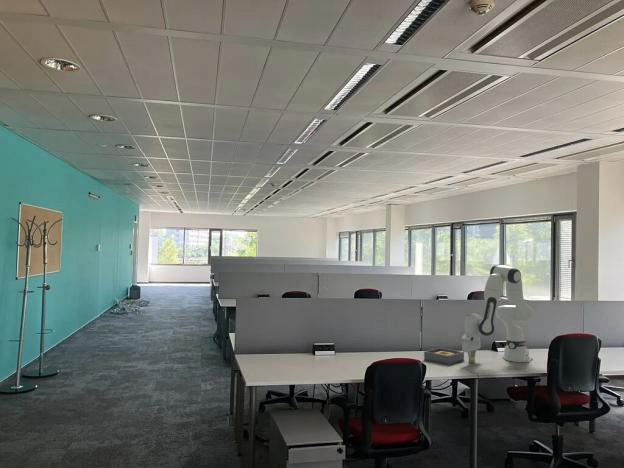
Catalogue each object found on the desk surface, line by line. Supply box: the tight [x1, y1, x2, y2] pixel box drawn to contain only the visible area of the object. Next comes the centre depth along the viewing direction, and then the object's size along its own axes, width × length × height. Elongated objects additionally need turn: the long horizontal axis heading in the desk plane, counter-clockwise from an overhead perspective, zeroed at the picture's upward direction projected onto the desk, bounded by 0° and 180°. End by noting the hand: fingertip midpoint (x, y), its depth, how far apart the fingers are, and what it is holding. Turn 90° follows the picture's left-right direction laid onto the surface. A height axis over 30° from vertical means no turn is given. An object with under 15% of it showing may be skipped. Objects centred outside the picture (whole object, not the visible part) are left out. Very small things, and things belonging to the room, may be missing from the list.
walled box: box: [423, 347, 465, 366], centre depth 330 cm, size 20×20×6 cm
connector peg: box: [468, 350, 476, 364], centre depth 323 cm, size 4×4×9 cm
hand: (471, 356), depth 323 cm, fingers closed on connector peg, 4 cm apart
